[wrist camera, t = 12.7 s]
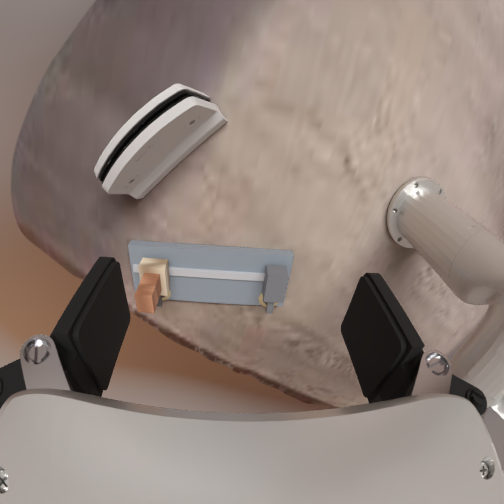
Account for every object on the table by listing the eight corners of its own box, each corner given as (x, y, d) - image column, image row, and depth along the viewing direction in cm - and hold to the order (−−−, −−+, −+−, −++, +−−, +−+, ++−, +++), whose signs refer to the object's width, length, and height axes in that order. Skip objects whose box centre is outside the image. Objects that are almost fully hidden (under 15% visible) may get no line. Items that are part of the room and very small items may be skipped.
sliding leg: (168, 257, 40) (156, 290, 33) (172, 300, 44) (163, 335, 38) (143, 255, 40) (127, 288, 33) (149, 298, 44) (137, 332, 37)
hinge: (141, 199, 37) (97, 209, 28) (124, 175, 36) (78, 178, 27) (230, 119, 32) (204, 100, 23) (209, 94, 32) (178, 70, 22)
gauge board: (292, 250, 43) (297, 267, 39) (281, 301, 48) (285, 320, 44) (131, 240, 40) (120, 256, 36) (138, 292, 45) (131, 310, 41)
